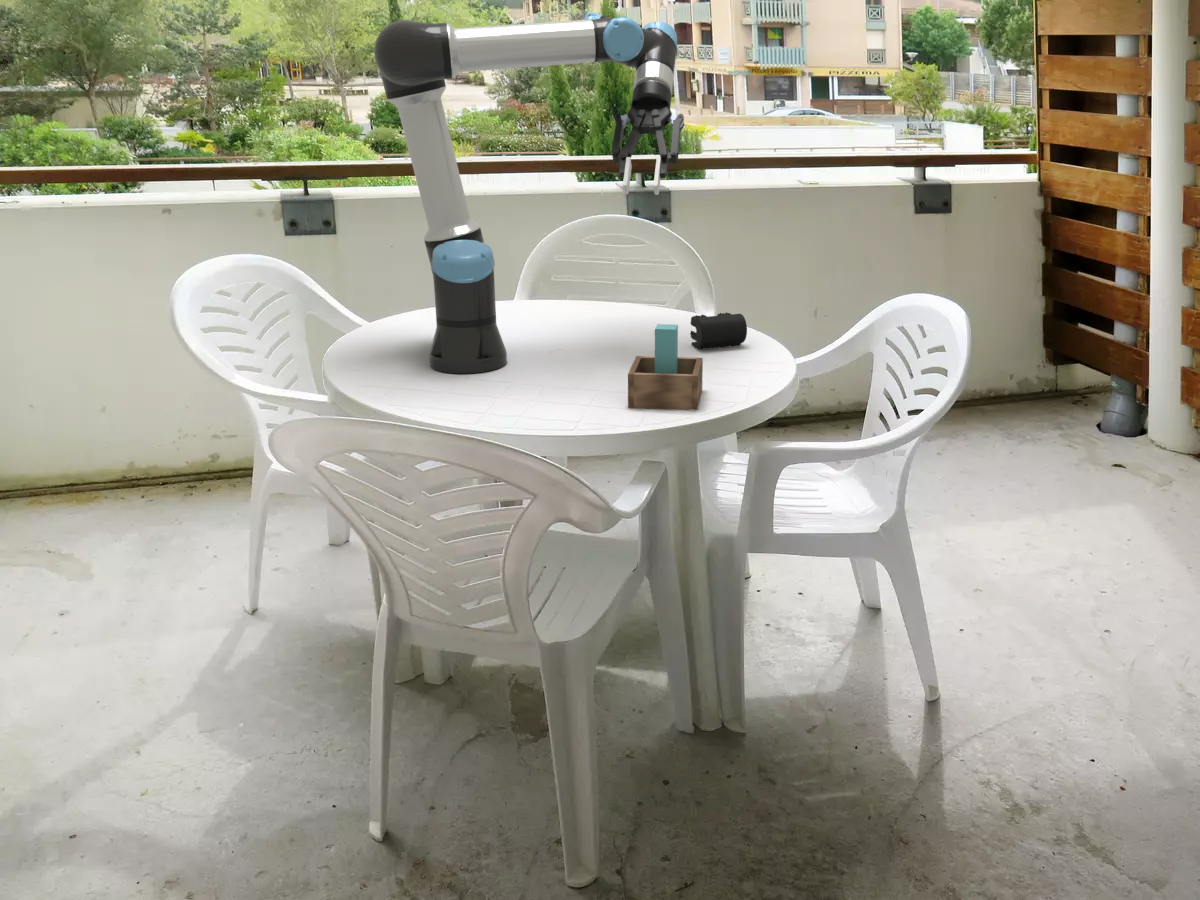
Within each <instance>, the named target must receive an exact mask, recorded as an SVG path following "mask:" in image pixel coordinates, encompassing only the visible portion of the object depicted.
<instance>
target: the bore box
mask: <svg viewBox="0 0 1200 900" xmlns="http://www.w3.org/2000/svg"><path fill="white" fill-rule="evenodd" d="M634 358H635V359H634V360H633V362H632V364H631V367H630V369H629V370H628V371H629V372H628V373H627V407H630V409H631V408H633V409H659V408H661V409H664V410H665V409H667V410H690V409H694V411H695V410H696V411H697V410H698V409H699V405H700V400H701V396H702V393H703V371H704V370H703V361H704V360H703V358H704V357H696V356H695V357H692V356H691V357H688V356H687V357H686V356H678V370H677V374H662V373H655V355H654V356H653V355H651V356H650V355H649V356H647V355H646V356H645V355H643V356H642V355H636V356H635V357H634ZM661 409H660V410H661Z"/></svg>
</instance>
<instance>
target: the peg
mask: <svg viewBox="0 0 1200 900" xmlns="http://www.w3.org/2000/svg"><path fill="white" fill-rule="evenodd" d="M678 326H679V324H668V323H667V324H664V323H663V324H662V323H657V324H656V326H655V328H654V356H655V373H662V374H677V370H678V357H679V356H678V355H679V354H678V353H679V352H678V351H679V350H678V348H679V347H678V345H679V344H678V343H679V342H678V341H679V327H678Z"/></svg>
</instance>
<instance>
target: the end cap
mask: <svg viewBox="0 0 1200 900" xmlns="http://www.w3.org/2000/svg"><path fill="white" fill-rule="evenodd" d="M746 321H747V320H746V318H745V316H744V315H743V314H742V313H734V314H732V313H730V312H728V311H727V312H724V313H722V312H720V313H717V315H712V316H707V315H705V314H701V315H697V314H696V315H692V316H691V318H690V326H692V327H694V328H695V330H696V331H693V330H690V333H689V334H690V338H691V339H692V340H694V341H692V342H691V344H690V345H691V346H692V347H693V346H694V347H693V348H695V349H696V348H697V350H698V349H699V351H700V350H708V349H709V350H711V349H719V347H721V348H727V347H728V348H730V347H729V346H731V347H739V345H742V343H745V341H746V339H747V335H748V326H747V322H746ZM710 348H711V349H710Z"/></svg>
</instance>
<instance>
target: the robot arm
mask: <svg viewBox="0 0 1200 900" xmlns="http://www.w3.org/2000/svg"><path fill="white" fill-rule="evenodd" d="M373 54H374V60H375V64H376V65H377V69H378V70H379V73H380V77H381V81H382V83H383V84H382V85H383V88H384V93H385V96H386V100H387V102H389V103H390V104H392V105H393V106H395V107H396V108H397V111H398V114H399V118H400V119H399V120H400V122H401V125H402V126H401V128H402V130H403V134H404V137H405V138H404V139H405V141H406V145H407V150H408V153H409V156H410V161H411V164H412V168H413V173H414V176H415V179H416V184H417V187H418V191H419V197H420V199H421V202H422V203H421V204H422V207H423V211H424V215H425V218H426V219H425V220H426V223H427V225H428V230H427V232H426V233H425V235H424V236H423V241H424V245H425V248H426V252H427V256H428V260H429V264H430V269H431V274H432V278H433V288H434V289H433V290H434V291H433V292H434V304H435V305H434V306H435V318H436V319H435V320H436V329H435V332H434V336H433V338H432V343H431V348H430V351H429V367H430V368H431V369H433V368H434V369H433V370H435V369H436V371H438V370H439V371H438V372H442V371H443V372H442V373H447V372H448V373H449V374H477V373H485V372H490V371H494V370H497V369H500V368H502V367H504V366H505V365H506V364H507V363H508V355H507V349H506V346H505V343H504V341H503V339H502V335H501V333H500V330H499V328H498V324H497V313H496V312H497V309H496V290H495V289H496V288H495V268H494V267H495V265H496V264H495V263H496V262H495V258H494V255H493V249H492V248H491V247H490V245H489V244H487V243H485V240H484V237H483V233H482V229H481V225H480V224H479V223H478V222H475V221H474V220H473V219H472V218H471V215H470V211H469V208H468V203H467V199H466V195H465V191H464V187H463V182H462V178H461V175H460V171H459V167H458V163H457V162H458V161H457V159H456V153H455V150H454V146H453V141H452V137H451V135H450V130H449V126H448V121H447V117H446V114H445V110H444V106H443V102H442V95H444V93H445V90H446V88H447V85H446V82H445V80H447V79H449V80H451V79H455V78H456V76H457V75H458V74H459V73H465V72H466V73H467V72H478V71H481V72H482V71H493V70H506V69H507V70H509V69H518V68H519V69H520V68H521V69H522V68H531V67H532V68H533V67H535V68H536V67H547V66H548V67H549V66H561V65H573V64H586V63H588V64H589V63H605V62H614V63H617V64H621V65H625V66H627V67H630V68H634V69H635V74H634V82H633V89H632V97H631V104H630V109H629V110H628V111H627V114H623V115H621V114H620V113H615V114H614V115H613V119H614V124H615V126H614V127H615V129H614V134H613V140H612V147H611V155H612V156H611V157H612V161H613V162H614V163H619V171H618V172H619V177H620V178H623V182H622V189H623V194H624V195H629V191H630V184H631V176H632V175H631V174H632V169H633V165H632V160H631V159H632V156H633V154H634V151H635V149H636V147H637V145H638V143H639V141H640V140H641V138H642V136H643V135H645V134H651V135H655V139H656V142H657V147H658V151H659V156H658V157H657V156H656V158H655V159H656V161H655V170H654V178H653V184H652V185H653V192H654V195H656V196H658V195H659V194H660V185H661V179H666V177H667V173H668V166H669V164H670V163H671V164H672V163H673V164H677V163H678V161H679V152H680V142H681V141H680V140H681V132H682V130H683V128H684V126H685V117H684V116H685V115H684V114H683V113H678V114H677V115H675V114H673V113H672V111H671V103H672V93H673V86H674V76H675V67H676V66H675V65H676V60H677V54H678V35H677V33H676V30H675V29H674V27H673V26H671V25H670V24H669V23H668V22H665V21H651V22H648V23H647V24H644V26H643V27H641V26H640V24H639V23H638V22H636V21H635V20H634V18H633V19H632V18H631V17H628V16H617V17H610V16H606V15H604V14H603V13H596V12H592V11H589V12H588V13H586V15H585V16H584V18H583V19H578V20H575V19H574V20H563V21H562V20H561V21H546V22H545V21H544V22H532V23H519V24H518V23H517V24H499V25H487V26H483V25H482V26H470V27H469V26H468V27H457V28H456V27H454V26H452V25H451V24H450V23H449V22H442V23H441V22H440V23H439V22H438V23H431V22H419V21H414V20H410V19H403V20H402V19H399V20H396V21H393V22H391V23H389V24H388V25H386V26H385V27H384V28H383V29H382V30H381V31H380V32H379V34H378V36H376V40H375V44H374V51H373ZM628 122H629V123H630V124H631V126H632V127H631V131H630V133H629V135H628V138H627V140H626V142H625V144H624V146H623V149H622V144H623V138H624V129H625V128H626V126H627V123H628ZM670 123H671V127H672V132H671V133H672V136H671V137H672V138H671V146H670V152H667V148H666V144H665V143H666V142H665V139H664V133H663V129H664V128H665V127H666V126H667V125H669V124H670ZM621 150H622V151H621Z"/></svg>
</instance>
